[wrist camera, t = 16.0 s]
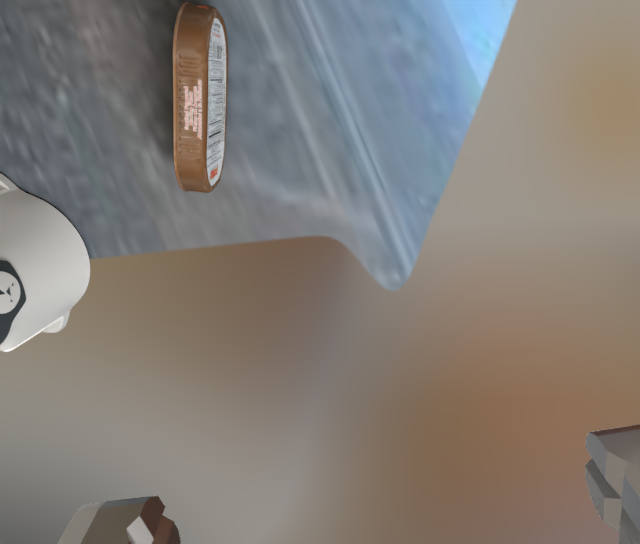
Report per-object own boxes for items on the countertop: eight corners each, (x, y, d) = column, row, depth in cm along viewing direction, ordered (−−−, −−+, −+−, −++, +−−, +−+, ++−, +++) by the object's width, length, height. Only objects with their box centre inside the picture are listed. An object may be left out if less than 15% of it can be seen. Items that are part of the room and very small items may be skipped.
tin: (201, 9, 39) (162, -9, 32) (236, 14, 39) (206, -3, 31) (199, 180, 45) (166, 200, 37) (230, 184, 45) (203, 205, 37)
